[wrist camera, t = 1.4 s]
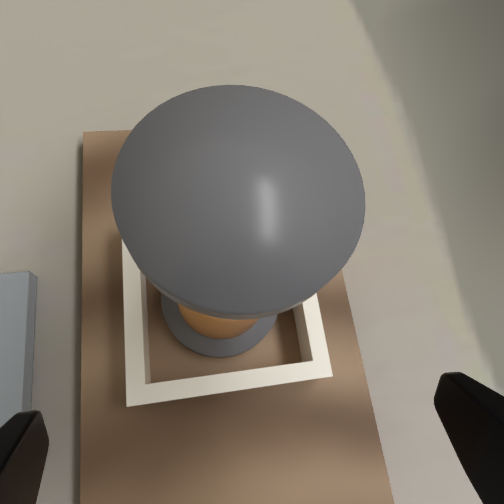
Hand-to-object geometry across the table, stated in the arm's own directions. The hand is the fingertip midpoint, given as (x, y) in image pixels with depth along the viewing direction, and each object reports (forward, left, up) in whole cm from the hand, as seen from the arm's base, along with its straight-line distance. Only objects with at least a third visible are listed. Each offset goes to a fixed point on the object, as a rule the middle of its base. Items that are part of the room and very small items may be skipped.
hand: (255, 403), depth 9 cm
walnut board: (+4, -3, -12) cm, 13 cm away
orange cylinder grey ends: (+4, -3, -11) cm, 12 cm away
